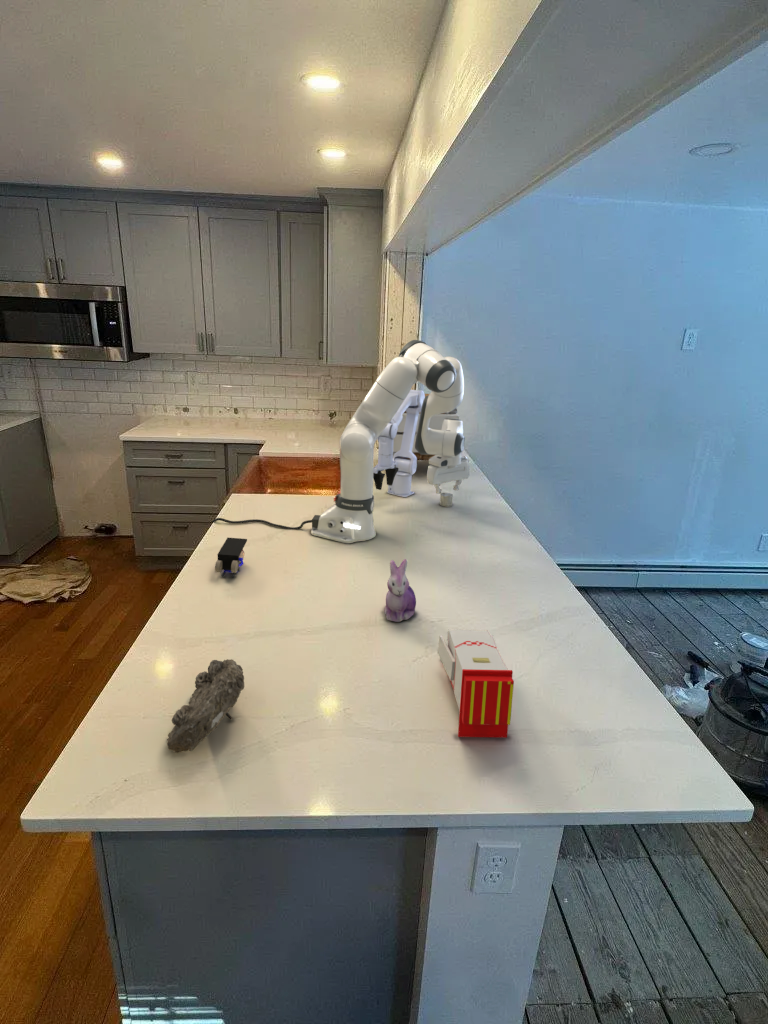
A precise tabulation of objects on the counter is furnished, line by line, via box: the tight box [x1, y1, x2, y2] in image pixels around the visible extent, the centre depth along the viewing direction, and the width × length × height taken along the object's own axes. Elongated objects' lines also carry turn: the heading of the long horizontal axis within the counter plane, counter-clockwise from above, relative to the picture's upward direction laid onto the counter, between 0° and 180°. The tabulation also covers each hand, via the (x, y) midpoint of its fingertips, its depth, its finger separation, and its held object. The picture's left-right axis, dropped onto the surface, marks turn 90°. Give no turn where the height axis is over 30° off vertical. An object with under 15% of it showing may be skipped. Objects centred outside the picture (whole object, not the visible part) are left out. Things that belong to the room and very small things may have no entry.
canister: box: [439, 492, 454, 508], centre depth 232 cm, size 5×5×4 cm
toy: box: [437, 628, 515, 738], centre depth 117 cm, size 12×13×30 cm
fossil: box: [166, 658, 245, 754], centre depth 106 cm, size 22×10×15 cm
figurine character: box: [214, 537, 248, 578], centre depth 166 cm, size 7×8×15 cm
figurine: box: [384, 558, 417, 623], centre depth 145 cm, size 9×10×15 cm
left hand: (447, 491), depth 230 cm, fingers open, 8 cm apart
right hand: (384, 487), depth 224 cm, fingers open, 7 cm apart
